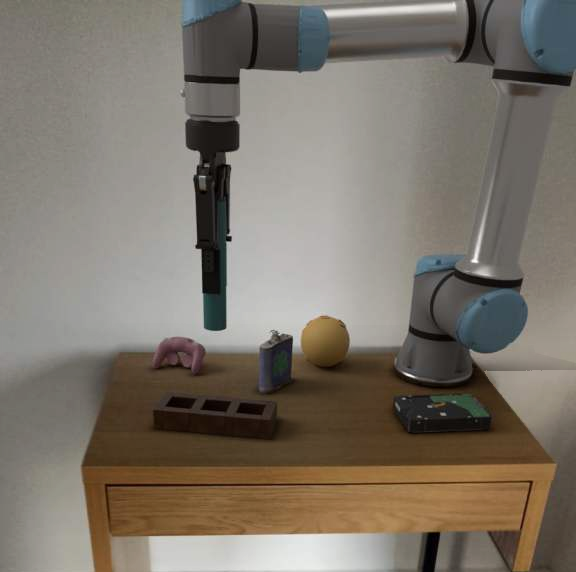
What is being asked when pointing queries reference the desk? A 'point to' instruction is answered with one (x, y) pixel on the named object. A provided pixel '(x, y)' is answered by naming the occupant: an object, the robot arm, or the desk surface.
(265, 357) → the flask
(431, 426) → the disk drive
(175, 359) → the video game controller
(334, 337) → the stress ball
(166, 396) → the pen block
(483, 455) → the desk surface
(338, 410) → the desk surface
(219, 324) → the dowel
